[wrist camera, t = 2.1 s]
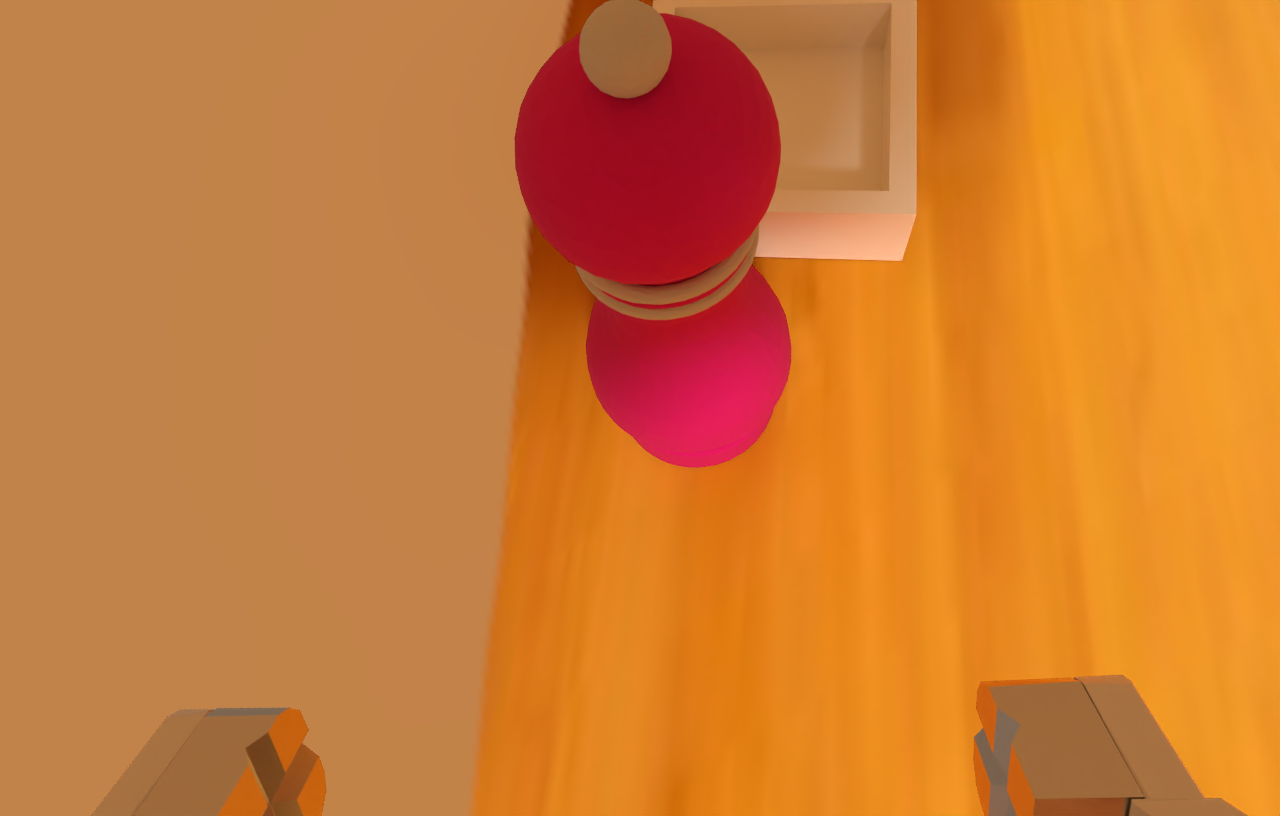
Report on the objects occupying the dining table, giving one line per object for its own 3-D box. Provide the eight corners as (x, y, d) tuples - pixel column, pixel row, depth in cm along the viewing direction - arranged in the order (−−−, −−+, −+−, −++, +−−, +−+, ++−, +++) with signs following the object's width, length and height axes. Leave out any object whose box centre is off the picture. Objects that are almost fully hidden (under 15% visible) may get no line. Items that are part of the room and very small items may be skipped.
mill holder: (903, 45, 38) (916, -17, 35) (901, 260, 35) (916, 214, 31) (663, 48, 40) (654, -11, 37) (638, 253, 36) (626, 208, 33)
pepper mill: (593, 337, 35) (405, -74, 17) (760, 293, 35) (759, -176, 16) (629, 500, 33) (454, 232, 14) (809, 455, 32) (876, 118, 14)
